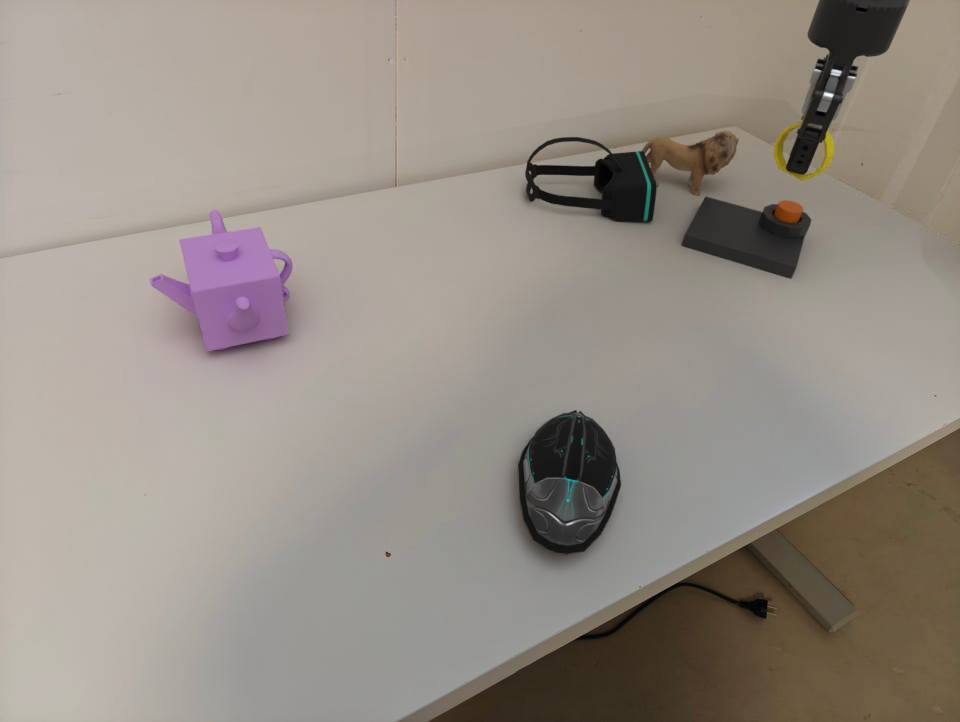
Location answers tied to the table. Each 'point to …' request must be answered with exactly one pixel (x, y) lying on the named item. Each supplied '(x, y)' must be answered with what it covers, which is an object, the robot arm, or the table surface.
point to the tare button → (788, 211)
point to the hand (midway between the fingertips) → (797, 165)
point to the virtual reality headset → (603, 183)
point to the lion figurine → (693, 156)
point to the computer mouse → (568, 483)
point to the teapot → (231, 286)
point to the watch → (782, 163)
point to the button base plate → (747, 236)
